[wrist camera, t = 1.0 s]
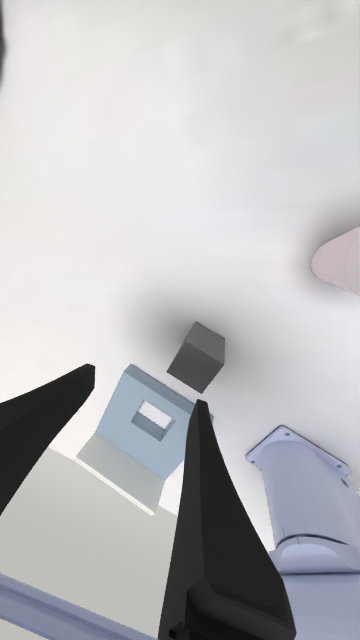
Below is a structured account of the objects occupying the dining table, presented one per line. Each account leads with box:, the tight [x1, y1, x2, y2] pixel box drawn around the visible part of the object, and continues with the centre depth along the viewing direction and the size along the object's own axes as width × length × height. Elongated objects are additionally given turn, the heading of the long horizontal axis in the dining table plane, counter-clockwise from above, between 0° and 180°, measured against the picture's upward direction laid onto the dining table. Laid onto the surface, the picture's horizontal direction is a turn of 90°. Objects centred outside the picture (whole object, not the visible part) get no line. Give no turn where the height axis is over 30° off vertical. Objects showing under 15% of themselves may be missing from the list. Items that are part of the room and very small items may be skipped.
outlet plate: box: [74, 364, 213, 516], centre depth 25 cm, size 14×16×6 cm
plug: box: [167, 322, 225, 394], centre depth 19 cm, size 4×4×6 cm
